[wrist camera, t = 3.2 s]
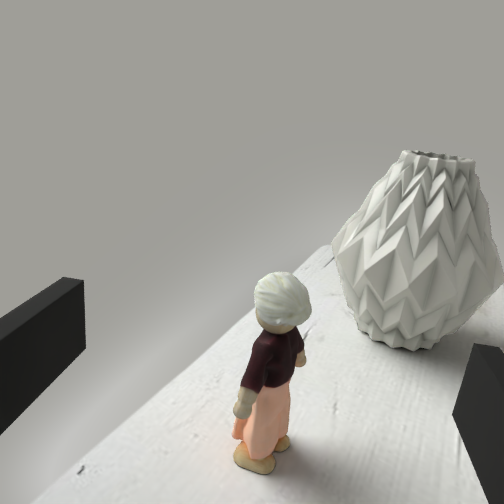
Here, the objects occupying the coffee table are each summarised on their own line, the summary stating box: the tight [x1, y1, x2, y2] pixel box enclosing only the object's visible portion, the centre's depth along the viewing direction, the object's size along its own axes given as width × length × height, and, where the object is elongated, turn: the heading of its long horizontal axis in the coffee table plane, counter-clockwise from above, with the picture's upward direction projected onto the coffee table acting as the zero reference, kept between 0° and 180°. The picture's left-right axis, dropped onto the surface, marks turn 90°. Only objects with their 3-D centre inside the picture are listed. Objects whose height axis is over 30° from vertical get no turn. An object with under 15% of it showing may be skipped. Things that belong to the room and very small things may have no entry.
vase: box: [331, 150, 504, 352], centre depth 43 cm, size 16×16×18 cm
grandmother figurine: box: [232, 272, 312, 474], centre depth 26 cm, size 8×4×13 cm, turn 159°
